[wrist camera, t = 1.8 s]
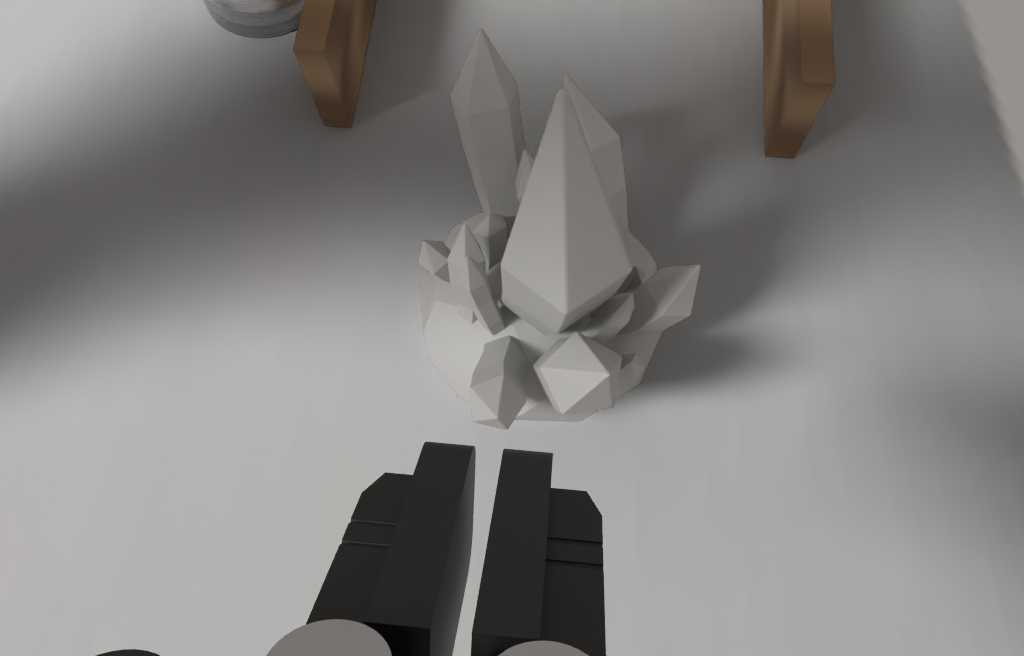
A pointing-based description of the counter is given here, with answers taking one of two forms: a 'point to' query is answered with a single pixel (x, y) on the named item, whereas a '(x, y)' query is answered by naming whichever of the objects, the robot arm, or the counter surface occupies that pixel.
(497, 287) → the crystal
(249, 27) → the axle mount
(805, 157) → the counter surface
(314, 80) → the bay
